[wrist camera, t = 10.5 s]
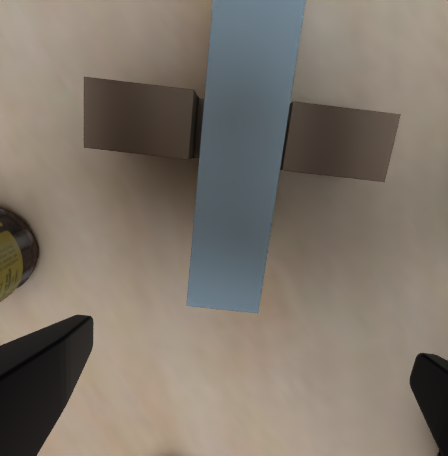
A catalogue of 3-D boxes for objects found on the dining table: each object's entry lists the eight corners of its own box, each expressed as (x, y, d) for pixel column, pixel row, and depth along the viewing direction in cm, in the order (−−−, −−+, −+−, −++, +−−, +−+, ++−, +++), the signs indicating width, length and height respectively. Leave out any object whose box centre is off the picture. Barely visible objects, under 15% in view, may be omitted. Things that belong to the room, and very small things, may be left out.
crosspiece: (224, 6, 17) (222, -109, 10) (278, 13, 17) (320, -97, 10) (201, 246, 21) (186, 306, 13) (246, 251, 21) (258, 313, 13)
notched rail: (355, 123, 19) (400, 114, 14) (345, 173, 19) (384, 182, 15) (121, 95, 18) (83, 76, 14) (120, 147, 19) (84, 147, 14)
